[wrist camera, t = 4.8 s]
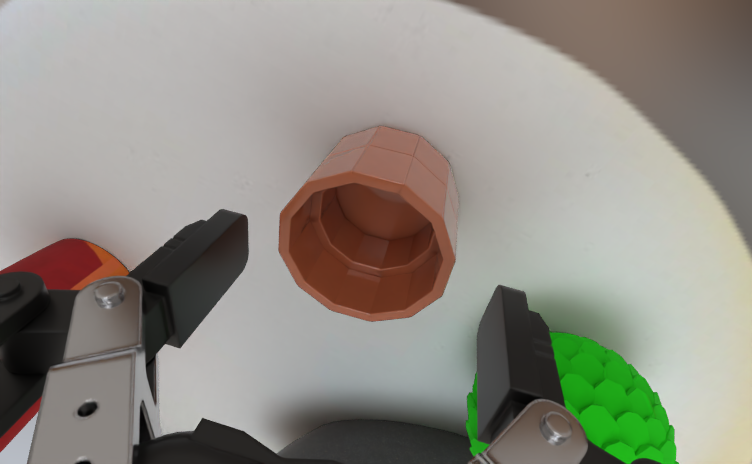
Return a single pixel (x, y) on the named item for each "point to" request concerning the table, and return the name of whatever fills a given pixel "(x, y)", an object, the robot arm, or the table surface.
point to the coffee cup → (63, 284)
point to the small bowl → (374, 226)
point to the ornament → (603, 402)
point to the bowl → (380, 444)
